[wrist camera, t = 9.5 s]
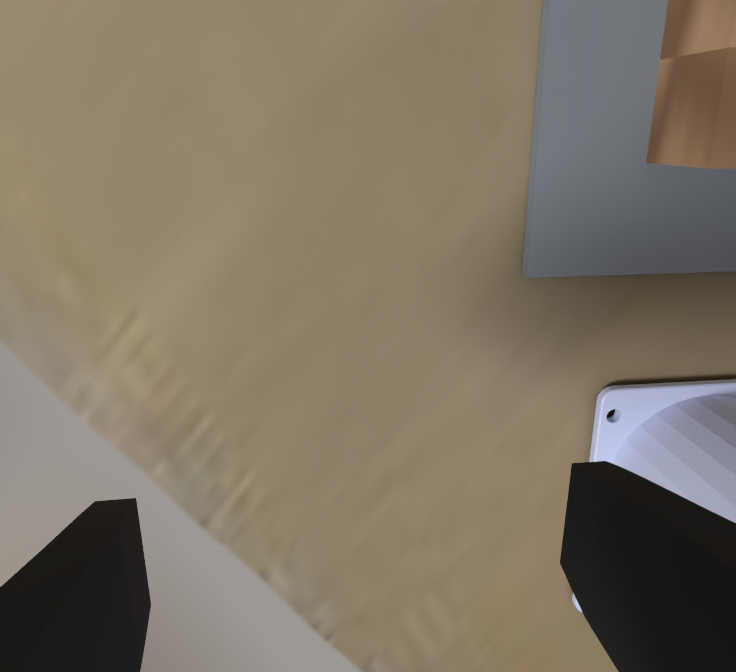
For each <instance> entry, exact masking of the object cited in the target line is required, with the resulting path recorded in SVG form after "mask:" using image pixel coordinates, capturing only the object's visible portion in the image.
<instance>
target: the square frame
mask: <svg viewBox="0 0 736 672" xmlns="http://www.w3.org/2000/svg"><path fill="white" fill-rule="evenodd" d="M646 163H653V164H664V165H674V166H685V167H695V168H706V169H736V0H668V5H667V12H666V20H665V27H664V35H663V42H662V50H661V57H660V64H659V72H658V79H657V87H656V94H655V102H654V109H653V116H652V124H651V131H650V139H649V146H648V154H647V161H646Z"/></svg>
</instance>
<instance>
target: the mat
mask: <svg viewBox="0 0 736 672" xmlns="http://www.w3.org/2000/svg"><path fill="white" fill-rule="evenodd" d="M667 5H668V0H543V8H542V21H541V34H540V47H539V60H538V72H537V85H536V98H535V111H534V124H533V137H532V150H531V162H530V175H529V188H528V201H527V214H526V227H525V239H524V252H523V265H522V275H523V276H525V277H527V278H544V277H575V276H607V275H639V274H671V273H703V272H734V271H736V169H706V168H695V167H685V166H674V165H664V164H653V163H646V161H647V154H648V146H649V139H650V131H651V124H652V116H653V109H654V102H655V94H656V87H657V79H658V72H659V64H660V57H661V50H662V42H663V35H664V27H665V20H666V12H667Z"/></svg>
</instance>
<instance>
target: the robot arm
mask: <svg viewBox="0 0 736 672" xmlns="http://www.w3.org/2000/svg"><path fill="white" fill-rule="evenodd" d="M613 409H615V413H614V415H613V416H612V417H609V418H607V417H606V416H607V414H608V412H610V411H611V410H613ZM560 564H561V566H562V568H563V571H564V573H565V575H566V577H567V580H568V582H569V584H570V586H571V589H572V591H573V596H572V600H573V603H574V605H575V606H576V608H577V609H578V610H579V611H581V612H583V614H584V616H585V618H586V620H587V621H588V623H589V625H590V626H591V628H592V630H593V631H594V633H595V634H596V636H597V638H598V639H599V641H600V642H601V644H602V646H603V647H604V649H605V651H606V652H607V654H608V655H609V657H610V659H611V660H612V662H613V663H614V665H615V666H616V668H617V670H618V671H619V672H736V379H728V380H709V381H690V382H672V383H653V384H634V385H616V386H609V387H606V388H605V389H603V390H602V391H601V392H600V394H599V395H598V398H597V404H596V412H595V420H594V428H593V436H592V444H591V452H590V460H589V462H585V463H572V467H571V476H570V484H569V492H568V501H567V509H566V517H565V526H564V534H563V542H562V551H561V559H560ZM150 607H151V602H150V595H149V588H148V580H147V573H146V566H145V559H144V552H143V545H142V538H141V531H140V524H139V517H138V510H137V502H136V498H132V499H120V500H107V501H95V502H94V503H93V504H92V505H90V506H89V507H88V508H87V509H86V510H85V511H84V512H82V513H81V514H80V515H79V516H78V517H77V518H76V519H75V520H74V521H73V522H72V523H70V524H69V525H68V526H67V527H66V528H65V529H64V530H63V531H62V532H61V533H60V534H59V535H58V536H56V537H55V538H54V539H53V540H52V541H51V542H50V543H49V544H48V545H47V546H46V547H45V548H44V549H42V550H41V551H40V552H39V553H38V554H37V555H36V556H35V557H34V558H33V559H31V560H30V561H29V562H28V563H27V564H26V565H25V566H24V567H22V568H21V569H20V570H19V571H18V572H17V573H16V574H15V575H14V576H12V577H11V578H10V579H9V580H8V581H7V582H6V583H5V584H4V585H3V586H1V587H0V672H140V669H141V663H142V658H143V652H144V646H145V640H146V633H147V627H148V620H149V613H150Z"/></svg>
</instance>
